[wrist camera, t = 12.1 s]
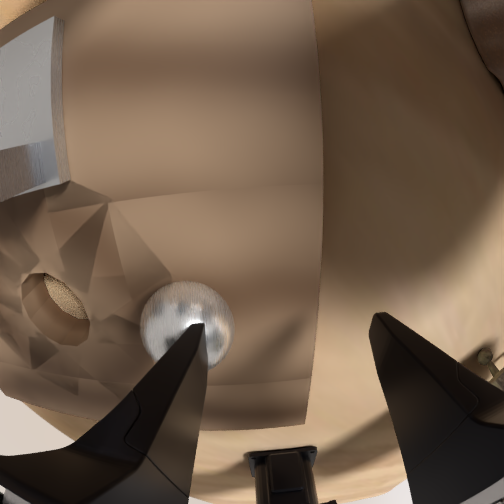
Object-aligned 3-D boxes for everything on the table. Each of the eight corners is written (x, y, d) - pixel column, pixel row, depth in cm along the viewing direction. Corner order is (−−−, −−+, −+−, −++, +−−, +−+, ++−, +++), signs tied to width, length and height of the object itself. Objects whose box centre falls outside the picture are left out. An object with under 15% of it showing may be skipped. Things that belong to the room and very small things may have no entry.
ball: (241, 390, 9) (143, 395, 8) (221, 341, 13) (145, 343, 12) (250, 303, 9) (132, 304, 8) (226, 268, 12) (140, 268, 11)
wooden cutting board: (298, 396, 18) (304, 424, 16) (15, 377, 18) (5, 395, 16) (292, -25, 8) (302, -51, 6) (-67, 110, 8) (-88, 115, 5)
